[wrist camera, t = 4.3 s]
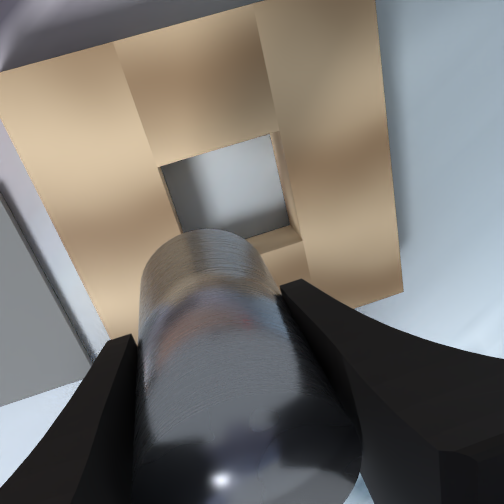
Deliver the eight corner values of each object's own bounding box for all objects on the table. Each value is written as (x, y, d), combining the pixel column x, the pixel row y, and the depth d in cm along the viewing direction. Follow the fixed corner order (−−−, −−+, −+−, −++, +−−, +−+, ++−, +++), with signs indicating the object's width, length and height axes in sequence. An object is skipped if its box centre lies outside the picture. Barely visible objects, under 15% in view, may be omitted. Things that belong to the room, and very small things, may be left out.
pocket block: (384, 273, 24) (403, 291, 22) (134, 357, 23) (132, 383, 21) (349, -22, 17) (372, -29, 16) (-2, 74, 16) (-20, 78, 14)
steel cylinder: (278, 319, 15) (373, 513, 9) (164, 356, 14) (175, 588, 8) (252, 211, 13) (346, 360, 7) (120, 252, 13) (92, 447, 6)
